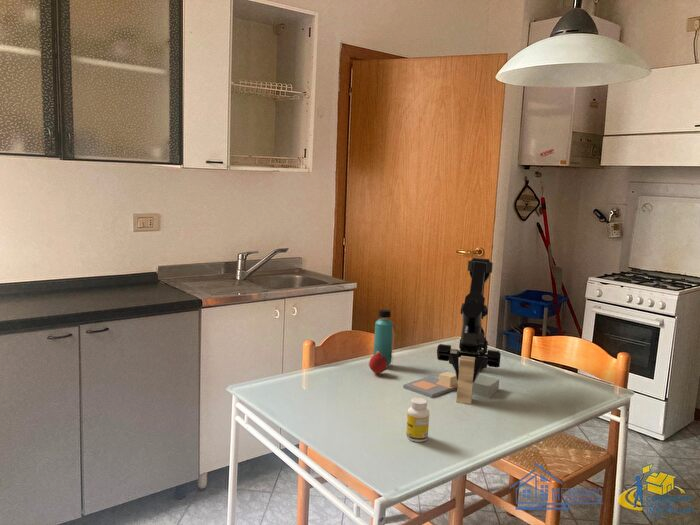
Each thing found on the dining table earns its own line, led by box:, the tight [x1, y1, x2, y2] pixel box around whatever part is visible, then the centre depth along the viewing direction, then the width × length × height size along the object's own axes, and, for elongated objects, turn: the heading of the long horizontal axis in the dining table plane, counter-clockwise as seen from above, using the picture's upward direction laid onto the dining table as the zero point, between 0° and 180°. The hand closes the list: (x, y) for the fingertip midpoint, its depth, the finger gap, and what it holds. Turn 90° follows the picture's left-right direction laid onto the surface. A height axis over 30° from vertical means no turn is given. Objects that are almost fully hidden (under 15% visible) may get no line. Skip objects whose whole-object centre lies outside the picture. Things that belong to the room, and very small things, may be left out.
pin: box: [456, 356, 475, 405], centre depth 173 cm, size 4×4×13 cm
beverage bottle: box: [373, 309, 394, 366], centre depth 202 cm, size 6×7×20 cm
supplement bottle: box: [405, 397, 430, 443], centre depth 146 cm, size 5×5×10 cm
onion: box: [368, 351, 388, 376], centre depth 193 cm, size 6×6×8 cm
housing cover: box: [472, 374, 500, 398], centre depth 183 cm, size 9×7×4 cm
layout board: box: [402, 371, 458, 399], centre depth 184 cm, size 15×12×4 cm
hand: (465, 380), depth 172 cm, fingers closed on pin, 4 cm apart
